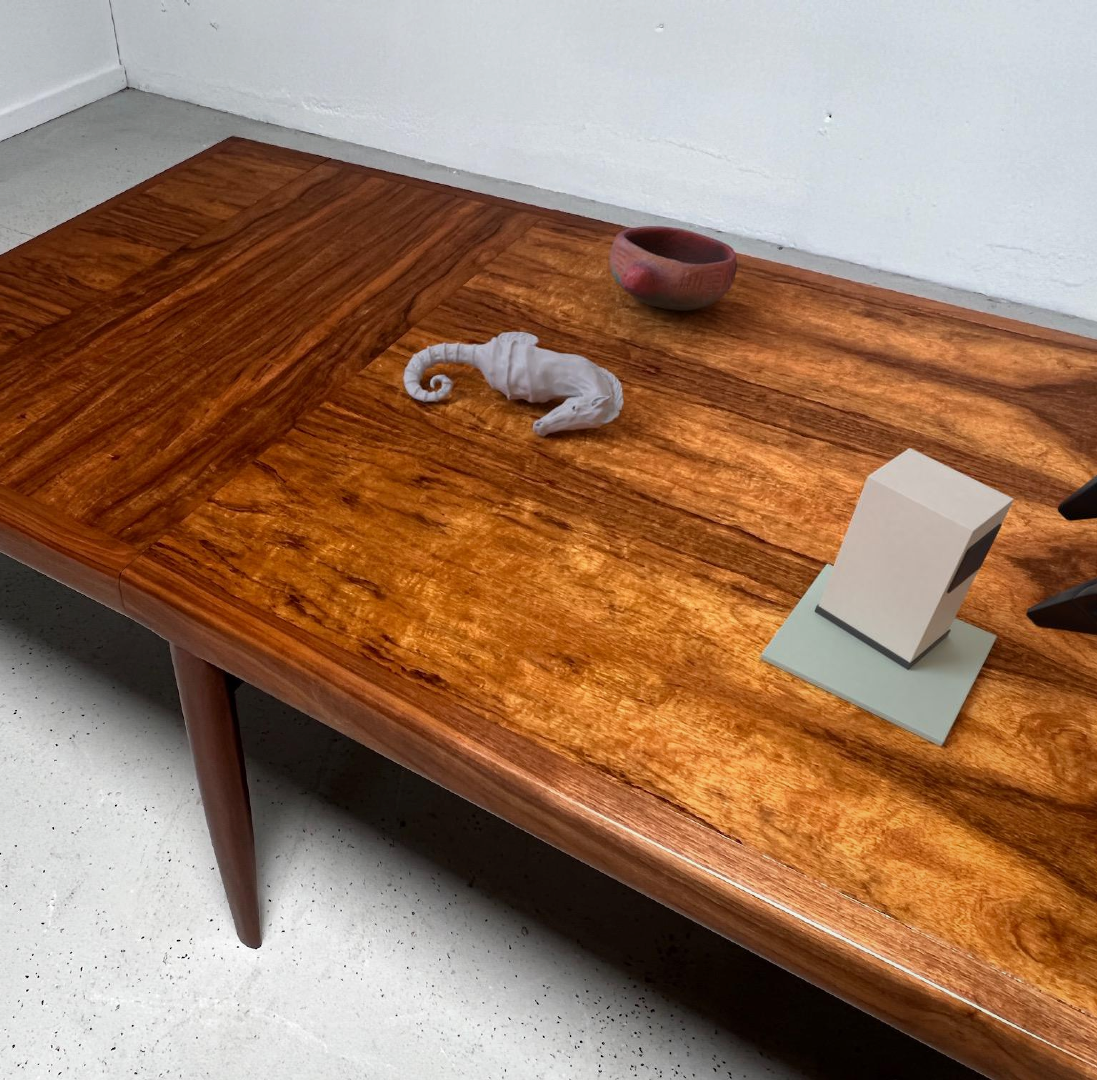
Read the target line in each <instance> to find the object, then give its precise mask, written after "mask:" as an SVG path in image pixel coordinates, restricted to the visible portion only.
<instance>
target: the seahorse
mask: <svg viewBox="0 0 1097 1080" xmlns="http://www.w3.org/2000/svg"><path fill="white" fill-rule="evenodd" d="M539 341H540V340H539V338H538V336H536V335H534V334H531V333H529V332H524V331H507V332H502V333H500V334H498V335H497V337H495V336H494V337H492V338H491V339H490V341H488V342H486V343H483V344H477V343H473V344H465V343H461V342H459V341H458V342H456V343H447V342H442V343H439V344H435V345H432V346H430V345H427V347H426V348H425V349H422V350H420V351H419V352H418V353H413V355H412V357H411V358H410V360H409V362H408V363H407V366H406V367H405V368H404V374H403V377H402V378H403V379H402V380H403V384H404V387H405V390H406V392H407V393H408V394H409V396H411V397H412V399H414V400H418V401H420V402H423V403H429V402H431V403H433V402H435V403H438V402H439V401H441V400H442V399H445V398H448V397H449V395H450V393H451V391H452V388H453V387H454V382H453V381H452V380H451V379H450V378H449V377H447V376H446V374H437V375H434V376H433V377H432V378H431V379H430V382H429V383H430V388H431V389H435V384H436V383H439V382H440V383H441V388H439V389H438V390H437V391H435V390H433V391H430V392H429V391H428V390H427V389H423V388H422V386H421V382H420V381H422V380H423V375H424V374H426V372H427V370H428V369H429V368H434V367H435V366H436V365H439V364H444V365H448V364H455V365H461V364H466V365H469V366H471V367H472V368H473V369H477V370H479V371H480V372H481V373H482V375H483V377H484V379H485V381H486V382H487V384H488V385H489V386H490V388H491V389H492V390H493V391H499V392H501V393H502V394H503V395H504V396H506V398H507V401H509V402H510V401H512V400H525V401H527V402H529V403H531V404H532V403H533V404H534V403H541V404H544V403H547V402H549V401H551V400H554V399H562V400H563V399H564V402H563V403H562V404H560V405H558V406H556V407H555V408H554V409H552V410H551V411H549V413H547V414H545V415H543V416H542V417H540V418H539V419H537V420H535V421H533V425H532V431H533V433H535V434H536V435H538V436H539V437H546V436H547V435H548V434H553V433H558V432H562V431H576V430H585V429H599V428H601V426H603V425H606V424H610V423H612V422H613V420H616V419H617V418H618V417H619V416H620V414H621V412H620V411H622V410H623V406H624V402H625V401H624V399H625V398H624V393H623V392H624V390H623V389H624V388H623V387H622V385H623V384H622V382H621V381H620V380H619V378H617V377H616V375H615V374H614V373H612V372H610V371H609V370H608V369H606V368H604V367H601V366H599V365H597V364H596V363H594V362H593V361H591V360H589V359H588V358H587V357H584V356H582V355H578V354H573V353H561V352H557V351H553V350H550V349H545V348H540V347H538V346H537V344H538V343H539Z"/></svg>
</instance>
